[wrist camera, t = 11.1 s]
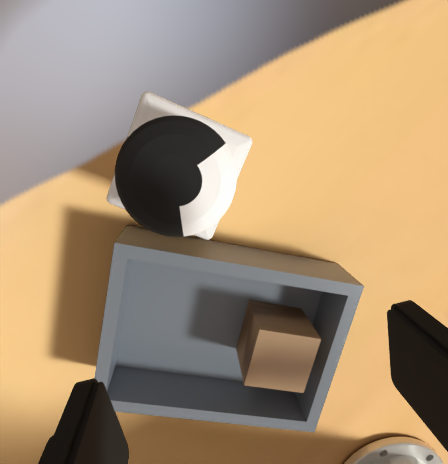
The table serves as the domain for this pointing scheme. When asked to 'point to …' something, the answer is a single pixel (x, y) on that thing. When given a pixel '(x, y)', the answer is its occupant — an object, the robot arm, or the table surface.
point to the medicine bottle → (177, 169)
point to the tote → (213, 328)
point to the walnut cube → (276, 347)
